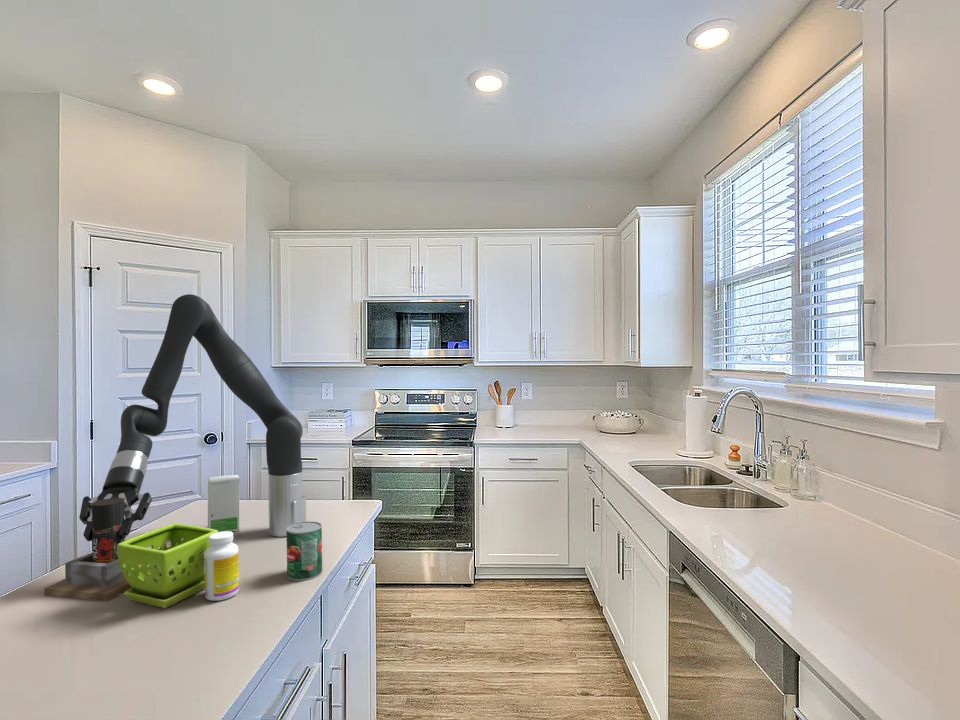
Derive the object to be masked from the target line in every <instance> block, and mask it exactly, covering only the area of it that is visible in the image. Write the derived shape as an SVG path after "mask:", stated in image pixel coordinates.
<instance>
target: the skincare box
mask: <svg viewBox="0 0 960 720" xmlns="http://www.w3.org/2000/svg"><path fill="white" fill-rule="evenodd" d="M207 481H208V482H207V484H208V485H207V488H208V489H207V528H210V529H214V530H217V531H218V532H223V531H230V532H232V531H235V532H240V494H241V493H240V492H241V491H240V482H241V481H240V476H239V474H230V475H220V476H218V475H217V476H209V477H207Z"/></svg>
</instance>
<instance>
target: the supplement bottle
mask: <svg viewBox="0 0 960 720" xmlns="http://www.w3.org/2000/svg"><path fill="white" fill-rule="evenodd" d="M233 540H234V532H230V531H223V532H217V533H214V534H211V535H210V536H209V544H210V547H208V548H207V549H206V550H205V552H204V586H205V588H204V598H205V599H206V600H207V601H211V602H212V601H213V602H219V601H224V600H228V599H230V598H232V597H234V596H235V595H237V594H238V593H239V591H240V563H239V562H240V561H239V559H240V557H239V556H240V554H239V552H240V551H239V547H238V545H237V544H236V543H234V542H233Z"/></svg>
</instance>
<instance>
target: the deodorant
mask: <svg viewBox="0 0 960 720" xmlns="http://www.w3.org/2000/svg"><path fill="white" fill-rule="evenodd" d="M91 515H92V541H91V542H92V543H91V545H92V552H93V562H95V563H106V564H108V563H110V562H112V561H115V560H117V559H118V552H117V545H118V544H119V543H121V542H124V541H126V537H125V538H122V539H121V538H120V536H119V532H120V529H121V525H122V522H123V520H124V519H125V515H124V499H123V498H110V499H103V500H99V501H96V502H94V503H92V511H91Z"/></svg>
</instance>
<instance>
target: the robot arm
mask: <svg viewBox="0 0 960 720" xmlns="http://www.w3.org/2000/svg"><path fill="white" fill-rule="evenodd" d="M193 337H194V338H195V340H197V342H198V343H199V344H200V345H201V346H202V347H203V349H204V350H205V352H206V354H207V356H208V358H209V360H210V362H211V364H212V365H213V367H214V369H215V371H216V372H217V374H218V375H219V377H220V379H221V380H222V382H224V383H225V384H226V386H227V388H228V389H229V390H230V391H231V392H232V393H233V394H234V395H235V397H237V398H238V399H239V400H240V401H241V402H242V403H244V404H246V405H247V407H249V408H250V409H251V410H252V411H253V412H254V413H255V414H256V415H257V416H258V417H259V419H260V420H261V422H262V423H263V425H264V427H265V428H266V433H265V434H266V435H265V447H266V451H265V453H266V455H265V456H266V465H267V470H268V472H267V476H268V481H267V483H268V534H269V535H270V536H271V537H272V536H273V537H278V538H279V537H280V538H281V537H286V528H287V527H288V526H290V525H292V524H295V523H299V522H307V509H306V508H307V505H306V504H307V501H306V500H307V499H306V496H303V461H302V448H301V447H302V446H301V445H302V441H301V439H302V438H303V426H302V424H301V421H299V419H298V418H297V417H296V416H295V415H294V414H293V413H292V412H291V411H290V410H289V409H288V408H287V407H286V406H285V405H284V404H283V403H282V402H281V400H280V399H279V398H278V397H277V395H276V394H275V392H274V390H273V389H272V387H271V386H270V384H269V382H268V381H267V380H266V379H265V377H264V375H263V374H262V373H261V371H260V370H259V368H258V367H257V366H256V364H255V363H254V362H253V361H252V359H251V358H250V356H248V355H247V354H246V352H245V351H244V350H243V349H242V348H241V347H240V346H239V345H238V344H237V342H235V340H234V339H232V338H231V337H230V335H229V334H228V333H227V332H226V330H225V329H224V328H223V326H222V324H221V323H220V321H219V319H218V318H217V316H216V315H215V313H214V311H213V309H212V307H211V306H210V304H209V303H208V302H207V301H205V300H204V299H203V298H202V297H200V296H198V295H196V294H191V293H189V294H183V295H181V296H179V297H178V298H176V299H175V300H174V301H173V303H172V306H171V310H170V313H169V317H168V321H167V327H166V329H165V332H164V336H163V340H162V342H161V345H160V347H159V350H158V352H157V355H156V356H155V360H154V362H153V365H152V367H151V368H150V370H149V373H148V375H147V378H146V380H145V382H144V384H143V386H142V389H141V394H142V396H143V397H145V398H147V399H149V400H151V401H152V402H155V404H156V405H157V409H155V408H152V407H147V406H144V405H141V404H136V403H135V404H130V405H129V406H127V407H125V409H124V410H123V411H122V414H121V416H120V442H119V446H118V448H117V451H116V453H115V456H114V458H113V459H112V462H111V465H110V467H109V470H108V473H107V475H106V478H105V481H104V483H103V485H102V491H101V492H100V493H99V494H98V495H97V496H94V497H90V496H89V495H87V496H84V497H83V498H82V502H81V507H80V513H79V520H80V521H81V522H82V524H83V525H86V526H85V529H84V532H83V537H84V538H85V540H86V541H87V542H92V503H94V502H96V501H99V500H103V499H110V498H123V499H124V520H123V522H122V525H121V529H120V532H119V536H120V538H121V539H122V538H125V539H126V537H127V536H129V535H130V534H131V529H132V526H133V523H135V522H136V521H142V520H144V518H145V517H146V516H145V515H146V514H147V511H148V509H149V508H150V505H151V503H152V501H153V498H152V496H151V494H150V493H149V492H145V493H140V491H141V488H142V486H143V481H144V478H145V475H146V473H147V468H148V462H149V459H150V456H151V451H152V448H153V440H152V439H151V438H150V437H157V436H160V435H161V434H163V433H164V431H165V430H166V428H167V426H168V419H169V418H168V416H169V407H170V402H171V398H172V396H173V394H174V391H175V389H176V386H177V384H178V381H179V380H180V377H181V374H182V370H183V366H184V363H185V358H186V353H187V350H188V348H189V346H190V343H191V341H192V339H193ZM149 436H150V437H149ZM137 502H139V504H138V506H137V508H136V510H135V512H133V510H132V506H133V505H134V504H136V503H137Z"/></svg>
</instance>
